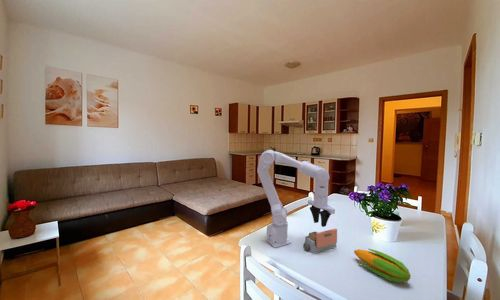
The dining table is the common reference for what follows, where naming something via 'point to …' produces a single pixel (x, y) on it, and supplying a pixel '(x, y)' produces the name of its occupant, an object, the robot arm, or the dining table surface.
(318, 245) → the thick rectangular slab
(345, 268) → the dining table surface
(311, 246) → the grey boxy piece
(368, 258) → the corn
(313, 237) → the block
